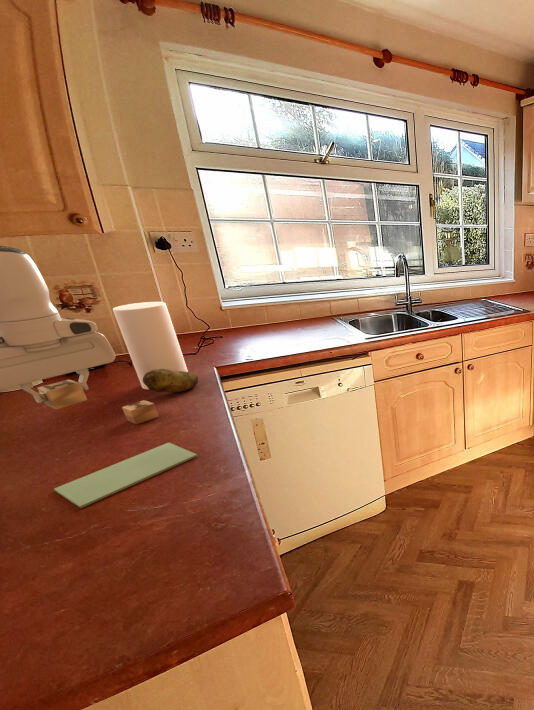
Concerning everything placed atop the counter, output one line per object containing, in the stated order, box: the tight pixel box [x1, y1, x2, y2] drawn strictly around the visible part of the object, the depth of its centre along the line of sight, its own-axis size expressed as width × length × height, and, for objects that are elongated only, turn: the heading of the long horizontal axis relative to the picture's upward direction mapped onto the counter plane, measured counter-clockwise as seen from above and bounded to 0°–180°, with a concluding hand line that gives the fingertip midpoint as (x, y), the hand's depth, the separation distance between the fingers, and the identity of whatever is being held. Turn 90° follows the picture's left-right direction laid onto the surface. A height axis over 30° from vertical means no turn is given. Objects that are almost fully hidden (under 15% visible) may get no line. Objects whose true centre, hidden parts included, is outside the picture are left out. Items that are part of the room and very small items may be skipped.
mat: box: [53, 442, 198, 509], centre depth 88 cm, size 20×12×1 cm, turn 152°
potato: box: [143, 369, 200, 394], centre depth 128 cm, size 8×13×8 cm, turn 130°
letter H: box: [37, 379, 88, 410], centre depth 88 cm, size 5×5×4 cm
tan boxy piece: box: [121, 399, 159, 425], centre depth 111 cm, size 5×5×4 cm
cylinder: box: [112, 301, 189, 391], centre depth 132 cm, size 12×12×25 cm
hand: (63, 395), depth 88 cm, fingers closed on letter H, 5 cm apart
